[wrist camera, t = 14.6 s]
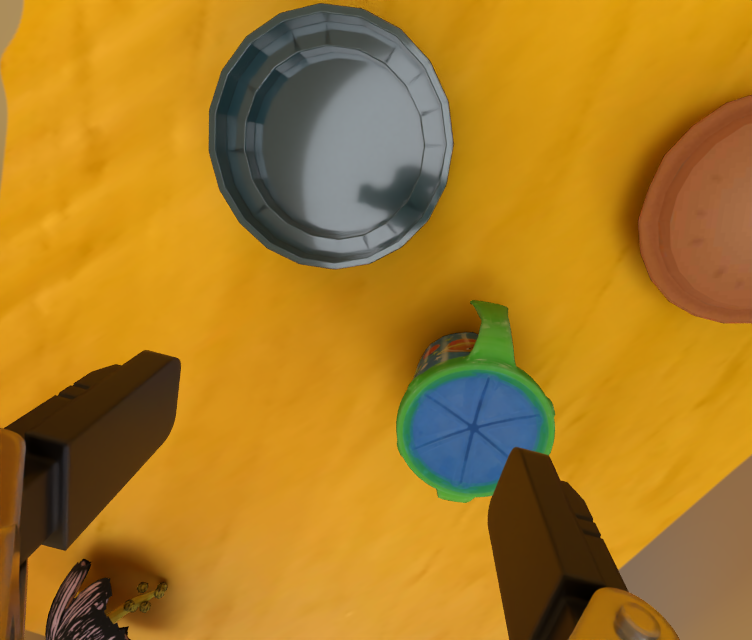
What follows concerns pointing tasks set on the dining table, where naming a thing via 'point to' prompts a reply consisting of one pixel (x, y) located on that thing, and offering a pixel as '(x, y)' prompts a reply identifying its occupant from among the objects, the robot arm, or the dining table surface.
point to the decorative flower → (92, 608)
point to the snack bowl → (330, 136)
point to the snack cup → (471, 410)
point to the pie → (704, 218)
